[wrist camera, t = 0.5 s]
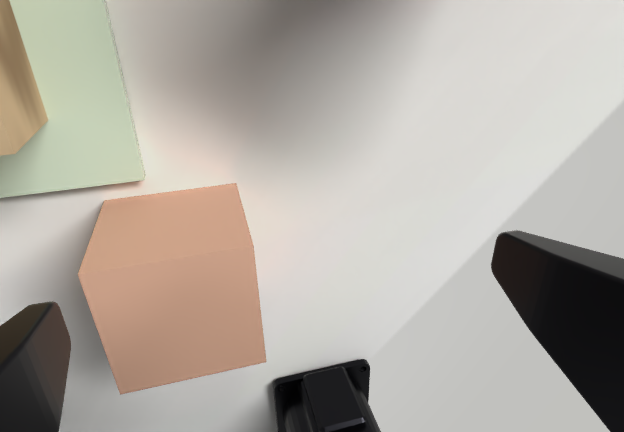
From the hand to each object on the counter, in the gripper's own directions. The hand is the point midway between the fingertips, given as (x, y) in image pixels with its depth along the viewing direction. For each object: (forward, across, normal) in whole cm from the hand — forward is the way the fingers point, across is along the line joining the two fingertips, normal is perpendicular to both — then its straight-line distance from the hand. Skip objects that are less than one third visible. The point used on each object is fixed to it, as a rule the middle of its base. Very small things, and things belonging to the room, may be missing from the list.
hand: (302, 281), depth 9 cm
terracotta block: (+13, +3, +6) cm, 15 cm away
